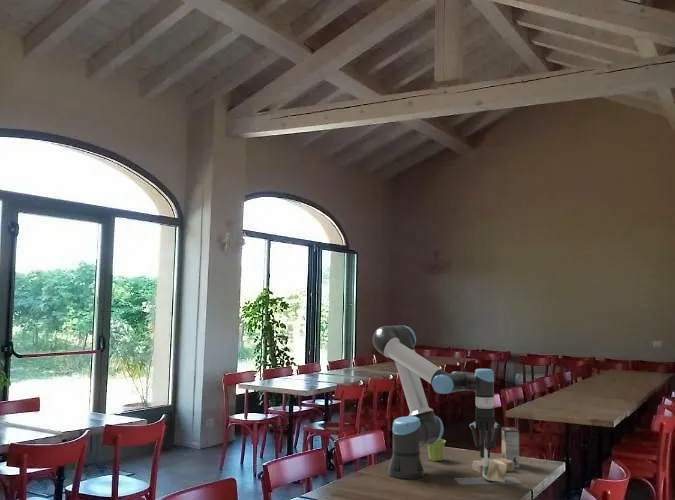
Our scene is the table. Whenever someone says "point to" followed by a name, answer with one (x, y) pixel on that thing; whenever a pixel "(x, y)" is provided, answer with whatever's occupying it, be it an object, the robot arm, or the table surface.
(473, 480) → the rubber mat
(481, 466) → the brick
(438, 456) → the plant pot
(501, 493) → the table surface
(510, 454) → the coffee box
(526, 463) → the table surface
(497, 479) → the beech block
